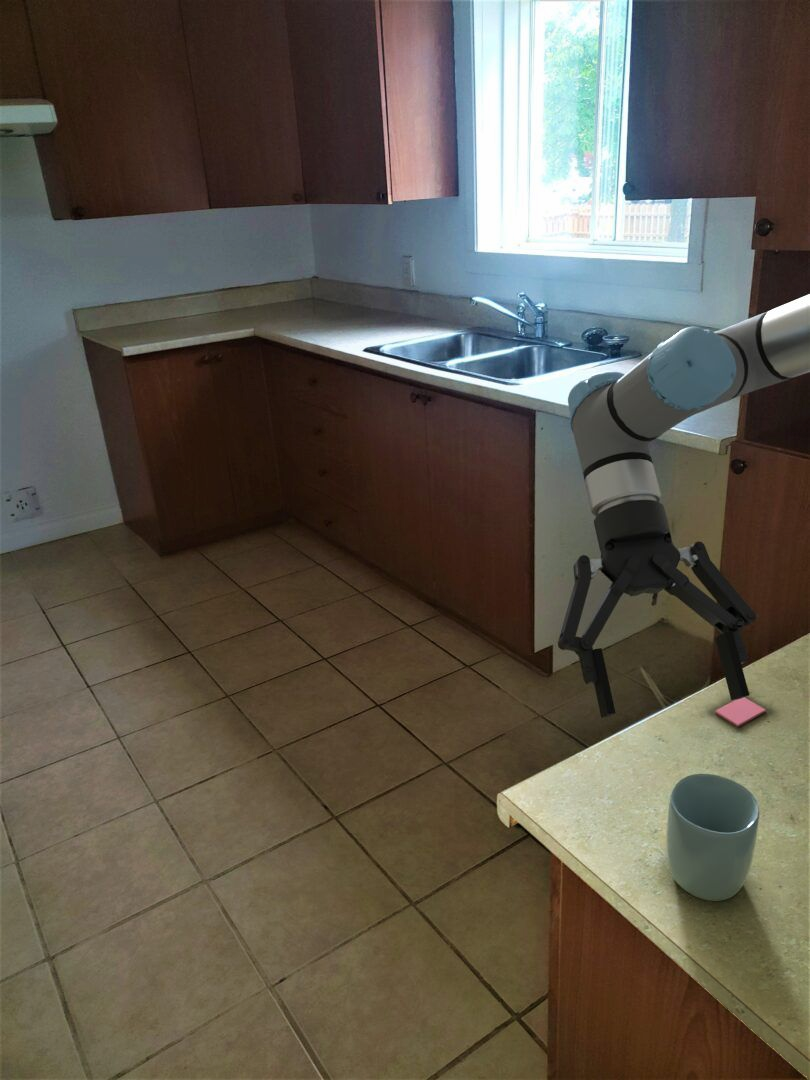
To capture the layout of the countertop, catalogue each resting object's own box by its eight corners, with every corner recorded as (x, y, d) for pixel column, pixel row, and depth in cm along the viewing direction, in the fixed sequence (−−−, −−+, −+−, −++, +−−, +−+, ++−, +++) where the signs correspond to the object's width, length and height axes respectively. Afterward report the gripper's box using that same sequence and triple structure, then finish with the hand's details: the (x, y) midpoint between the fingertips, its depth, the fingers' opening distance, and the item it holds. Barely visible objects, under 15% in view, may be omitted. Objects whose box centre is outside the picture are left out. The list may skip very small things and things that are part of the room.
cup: (757, 869, 80) (769, 790, 75) (736, 928, 74) (748, 847, 70) (677, 838, 84) (684, 763, 80) (651, 892, 78) (657, 813, 74)
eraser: (741, 702, 103) (742, 696, 102) (764, 716, 100) (765, 709, 100) (714, 717, 101) (715, 710, 100) (737, 731, 98) (738, 725, 97)
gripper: (724, 509, 93) (777, 696, 86) (509, 535, 91) (545, 727, 84) (752, 483, 86) (813, 684, 79) (519, 510, 84) (560, 718, 77)
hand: (674, 707), depth 81 cm, fingers open, 13 cm apart
